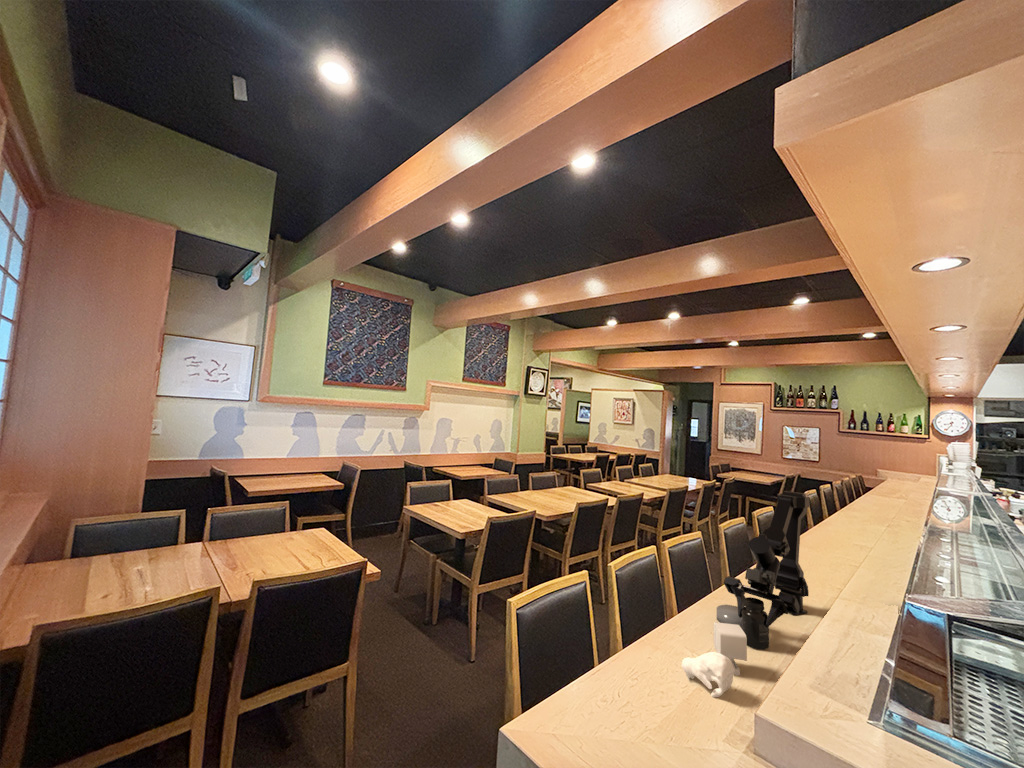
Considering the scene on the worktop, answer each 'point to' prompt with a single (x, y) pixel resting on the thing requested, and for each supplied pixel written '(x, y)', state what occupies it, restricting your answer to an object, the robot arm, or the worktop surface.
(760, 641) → the supplement bottle
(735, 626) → the security camera
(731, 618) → the stand
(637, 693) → the worktop surface
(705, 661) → the white toy
